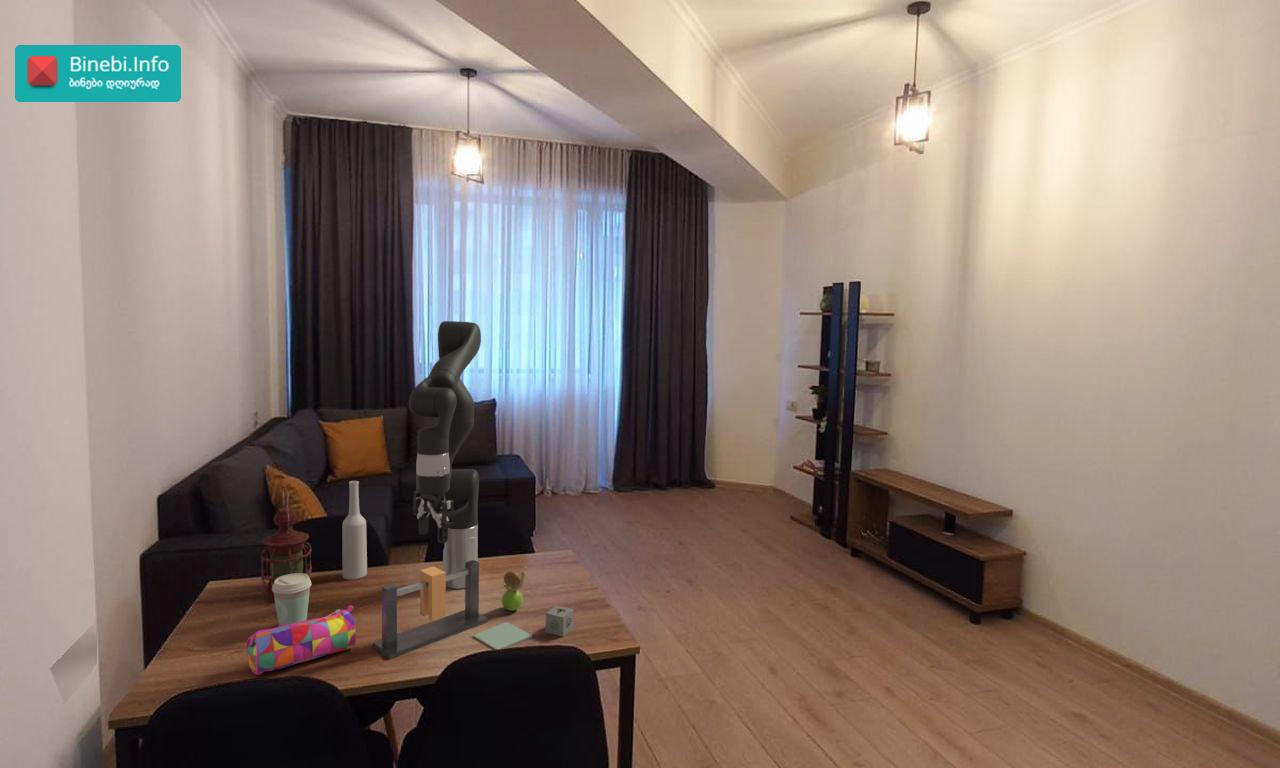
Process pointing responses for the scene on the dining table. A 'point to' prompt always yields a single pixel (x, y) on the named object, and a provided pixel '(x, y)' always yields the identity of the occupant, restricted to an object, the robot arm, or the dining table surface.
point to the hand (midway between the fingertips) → (433, 538)
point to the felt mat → (502, 636)
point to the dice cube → (559, 620)
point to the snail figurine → (513, 590)
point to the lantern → (284, 549)
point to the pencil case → (301, 641)
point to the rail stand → (433, 630)
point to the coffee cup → (291, 598)
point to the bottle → (354, 538)
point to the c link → (433, 593)
